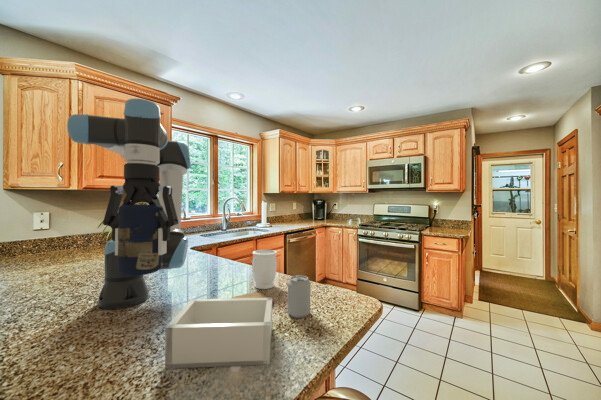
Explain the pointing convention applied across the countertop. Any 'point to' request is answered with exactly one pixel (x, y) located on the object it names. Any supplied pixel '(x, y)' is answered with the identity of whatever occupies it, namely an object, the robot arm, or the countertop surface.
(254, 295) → the bread slice
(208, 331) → the open box
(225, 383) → the countertop surface
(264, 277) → the jar
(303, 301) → the can
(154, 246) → the canister
